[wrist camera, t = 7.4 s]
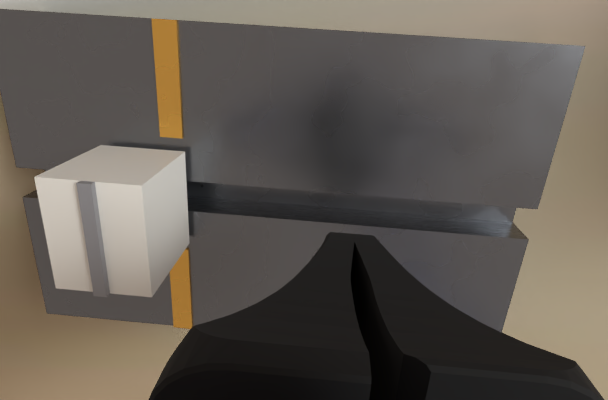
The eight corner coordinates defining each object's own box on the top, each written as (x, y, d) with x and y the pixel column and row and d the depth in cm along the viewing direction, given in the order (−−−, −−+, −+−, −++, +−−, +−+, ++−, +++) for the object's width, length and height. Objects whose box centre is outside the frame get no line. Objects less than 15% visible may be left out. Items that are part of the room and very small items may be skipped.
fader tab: (201, 226, 17) (149, 301, 12) (130, 220, 17) (51, 292, 13) (198, 141, 16) (138, 188, 11) (121, 135, 16) (29, 179, 11)
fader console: (472, 311, 20) (495, 358, 17) (85, 275, 21) (45, 314, 18) (540, 43, 15) (587, 46, 13) (43, 12, 16) (-20, 7, 13)
